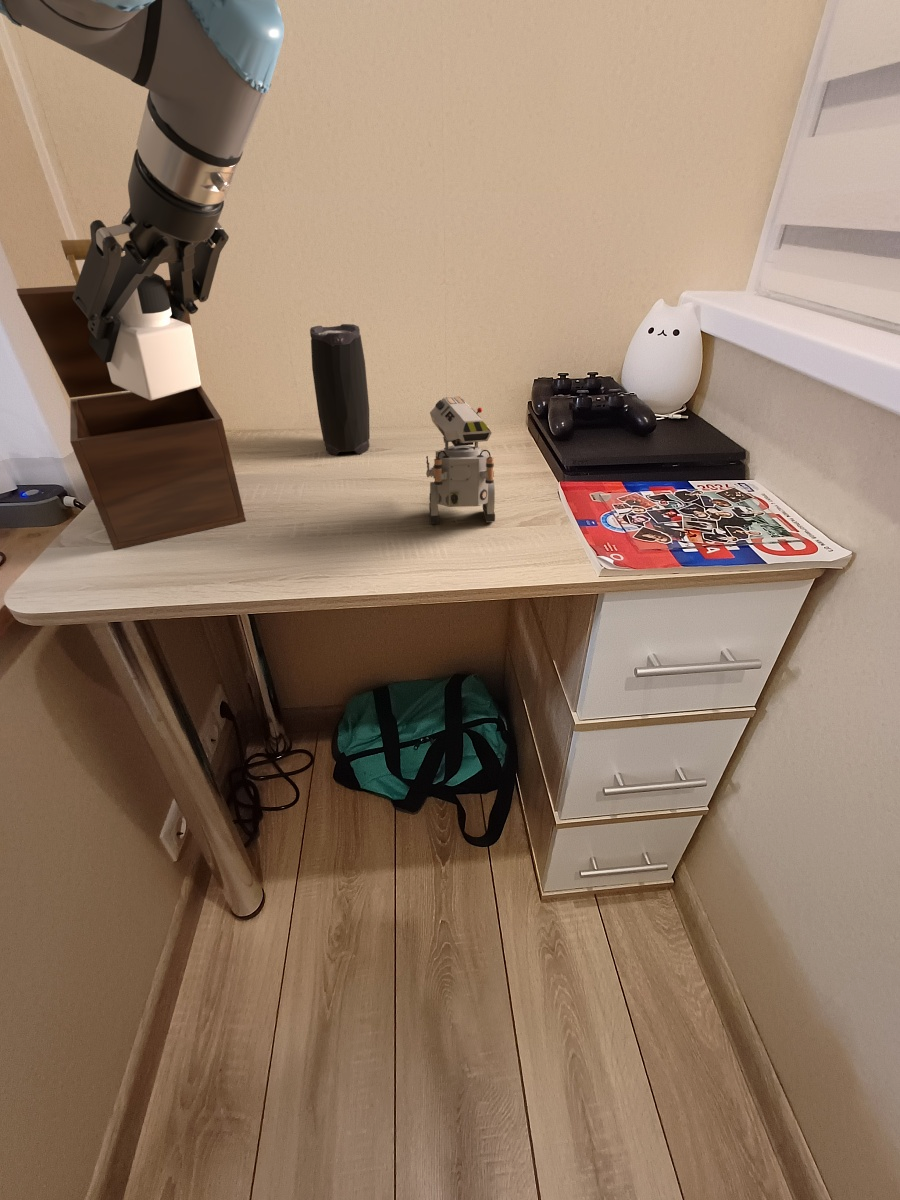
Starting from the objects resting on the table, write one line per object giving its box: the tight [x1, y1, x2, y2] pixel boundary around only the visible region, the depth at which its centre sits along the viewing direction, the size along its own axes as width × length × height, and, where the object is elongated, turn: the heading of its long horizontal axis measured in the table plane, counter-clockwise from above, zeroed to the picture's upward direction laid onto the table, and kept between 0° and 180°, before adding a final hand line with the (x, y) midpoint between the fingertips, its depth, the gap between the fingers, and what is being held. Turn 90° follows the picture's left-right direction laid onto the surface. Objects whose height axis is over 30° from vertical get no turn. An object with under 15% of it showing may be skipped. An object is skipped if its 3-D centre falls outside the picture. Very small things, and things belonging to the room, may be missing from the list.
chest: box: [69, 384, 247, 551], centre depth 78 cm, size 18×17×14 cm
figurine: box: [425, 396, 496, 525], centre depth 77 cm, size 9×12×15 cm
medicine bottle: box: [107, 272, 202, 400], centre depth 65 cm, size 7×7×12 cm
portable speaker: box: [309, 323, 371, 456], centre depth 95 cm, size 9×9×20 cm
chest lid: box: [15, 238, 192, 399], centre depth 72 cm, size 18×17×9 cm
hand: (131, 345), depth 67 cm, fingers closed on medicine bottle, 7 cm apart
